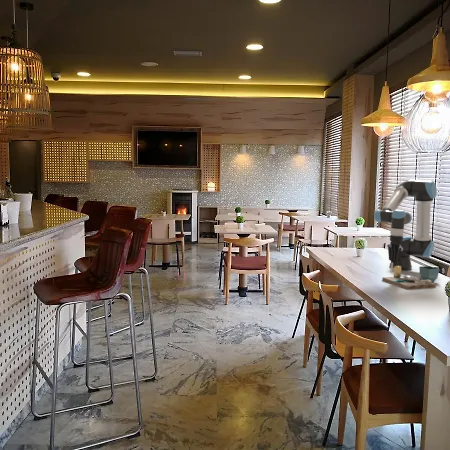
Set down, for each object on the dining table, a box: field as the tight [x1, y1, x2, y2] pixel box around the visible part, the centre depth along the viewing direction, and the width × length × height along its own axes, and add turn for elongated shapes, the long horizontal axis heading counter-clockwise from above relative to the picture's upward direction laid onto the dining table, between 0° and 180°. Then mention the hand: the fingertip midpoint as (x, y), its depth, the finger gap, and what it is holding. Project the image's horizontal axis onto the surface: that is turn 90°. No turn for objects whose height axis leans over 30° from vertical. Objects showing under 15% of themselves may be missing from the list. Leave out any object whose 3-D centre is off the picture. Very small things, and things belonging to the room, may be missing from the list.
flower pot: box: [418, 265, 440, 283], centre depth 305 cm, size 9×9×9 cm
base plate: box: [381, 275, 437, 290], centre depth 295 cm, size 22×22×4 cm
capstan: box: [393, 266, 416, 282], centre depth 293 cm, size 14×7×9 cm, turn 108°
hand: (392, 272), depth 296 cm, fingers closed
